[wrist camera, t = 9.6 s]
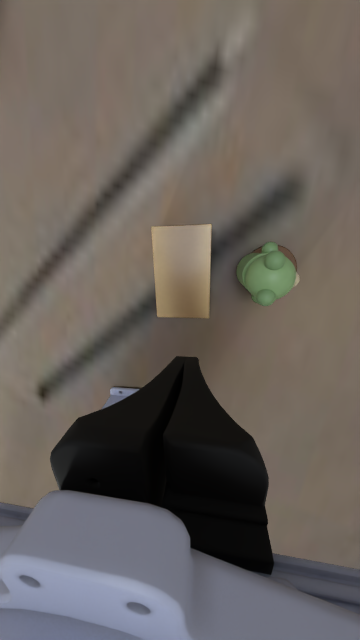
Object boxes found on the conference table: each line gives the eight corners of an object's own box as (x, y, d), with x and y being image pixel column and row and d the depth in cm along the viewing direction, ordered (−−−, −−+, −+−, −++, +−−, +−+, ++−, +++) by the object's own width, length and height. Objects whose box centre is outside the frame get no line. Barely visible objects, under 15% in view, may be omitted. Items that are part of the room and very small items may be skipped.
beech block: (163, 308, 22) (157, 317, 19) (159, 230, 19) (151, 226, 16) (209, 309, 21) (209, 318, 18) (211, 228, 18) (211, 223, 16)
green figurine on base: (202, 294, 18) (265, 320, 12) (209, 237, 16) (286, 237, 11) (261, 292, 22) (328, 310, 16) (272, 245, 20) (351, 248, 15)
